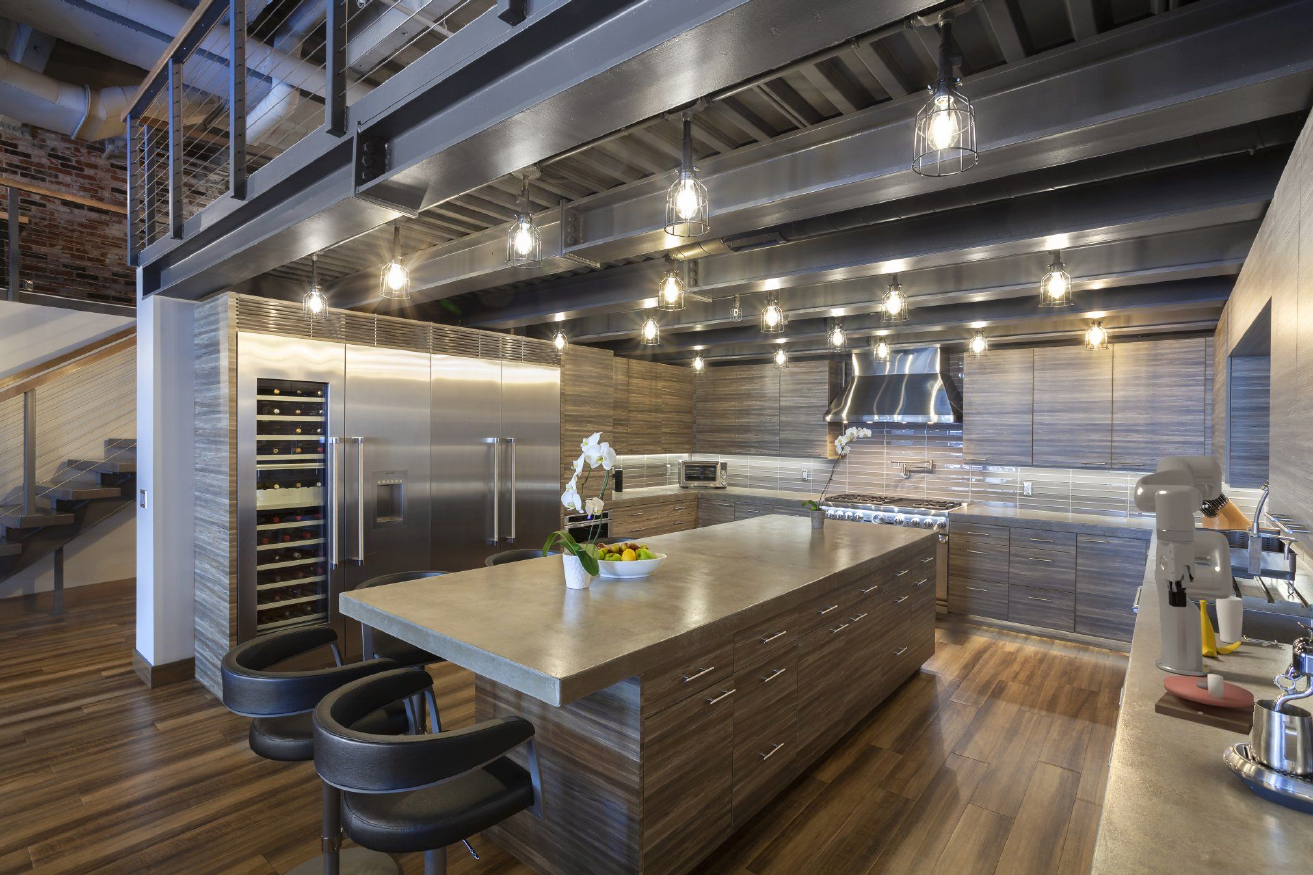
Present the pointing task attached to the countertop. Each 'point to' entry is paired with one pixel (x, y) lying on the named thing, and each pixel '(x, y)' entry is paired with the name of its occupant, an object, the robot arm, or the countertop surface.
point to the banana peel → (1211, 636)
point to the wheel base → (1207, 713)
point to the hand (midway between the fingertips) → (1177, 605)
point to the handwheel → (1209, 690)
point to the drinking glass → (1230, 619)
